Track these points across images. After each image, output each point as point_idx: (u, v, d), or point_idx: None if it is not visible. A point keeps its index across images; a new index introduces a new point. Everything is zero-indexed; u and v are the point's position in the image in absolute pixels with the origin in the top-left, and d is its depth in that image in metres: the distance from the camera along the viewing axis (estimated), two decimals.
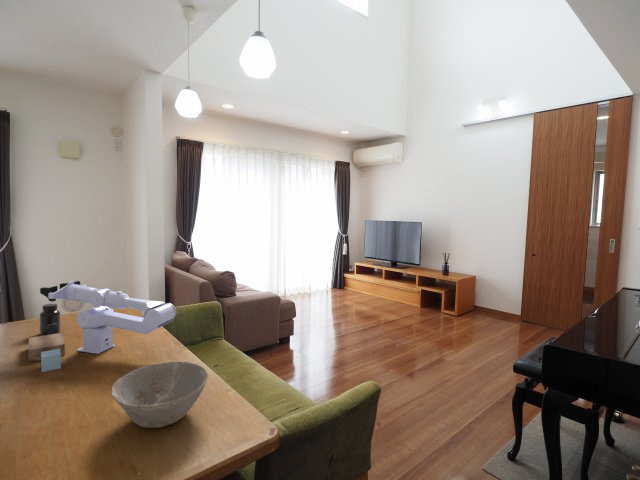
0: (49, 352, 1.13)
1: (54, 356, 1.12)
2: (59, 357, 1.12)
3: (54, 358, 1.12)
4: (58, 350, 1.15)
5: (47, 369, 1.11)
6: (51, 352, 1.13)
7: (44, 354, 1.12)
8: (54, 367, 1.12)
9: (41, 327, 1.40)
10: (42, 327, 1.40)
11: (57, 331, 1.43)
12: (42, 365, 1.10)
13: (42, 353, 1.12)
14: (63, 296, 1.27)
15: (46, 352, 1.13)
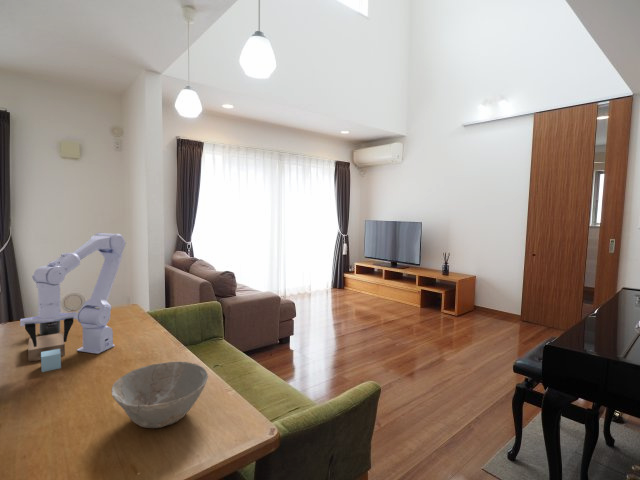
0: (49, 352, 1.13)
1: (54, 356, 1.12)
2: (59, 357, 1.12)
3: (54, 358, 1.12)
4: (58, 350, 1.15)
5: (47, 369, 1.11)
6: (51, 352, 1.13)
7: (44, 354, 1.12)
8: (54, 367, 1.12)
9: (41, 327, 1.40)
10: (42, 327, 1.40)
11: (57, 331, 1.43)
12: (42, 365, 1.10)
13: (42, 353, 1.12)
14: None
15: (46, 352, 1.13)
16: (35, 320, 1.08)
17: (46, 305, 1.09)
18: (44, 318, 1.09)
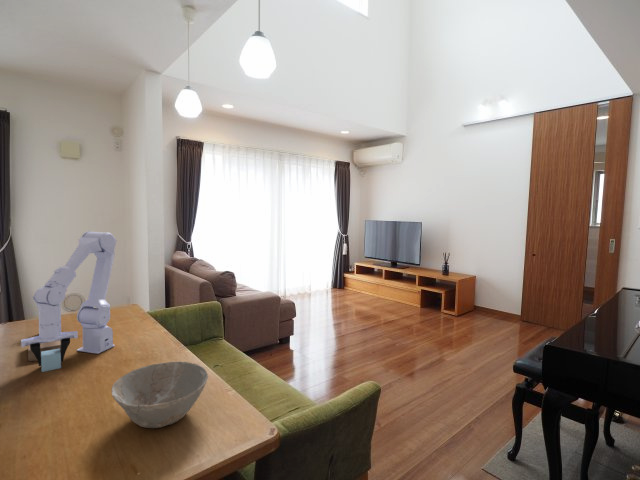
0: (49, 352, 1.13)
1: (54, 356, 1.12)
2: (59, 357, 1.12)
3: (54, 357, 1.12)
4: (58, 350, 1.15)
5: (47, 369, 1.11)
6: (51, 352, 1.13)
7: (44, 354, 1.12)
8: (54, 367, 1.12)
9: None
10: None
11: None
12: (42, 365, 1.10)
13: (42, 353, 1.12)
14: (61, 333, 1.15)
15: (46, 352, 1.13)
16: (36, 341, 1.09)
17: (47, 325, 1.10)
18: (45, 338, 1.10)
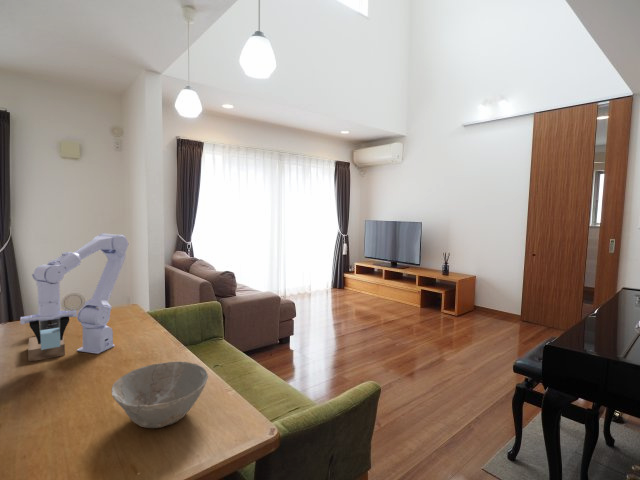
0: (48, 331, 1.13)
1: (53, 334, 1.12)
2: (58, 335, 1.13)
3: (53, 336, 1.12)
4: (57, 329, 1.15)
5: (46, 347, 1.11)
6: (50, 330, 1.14)
7: (43, 332, 1.12)
8: (53, 345, 1.12)
9: (41, 327, 1.40)
10: (42, 327, 1.40)
11: None
12: (41, 343, 1.10)
13: (41, 331, 1.13)
14: None
15: (45, 330, 1.14)
16: (35, 318, 1.09)
17: (46, 303, 1.10)
18: (44, 316, 1.10)
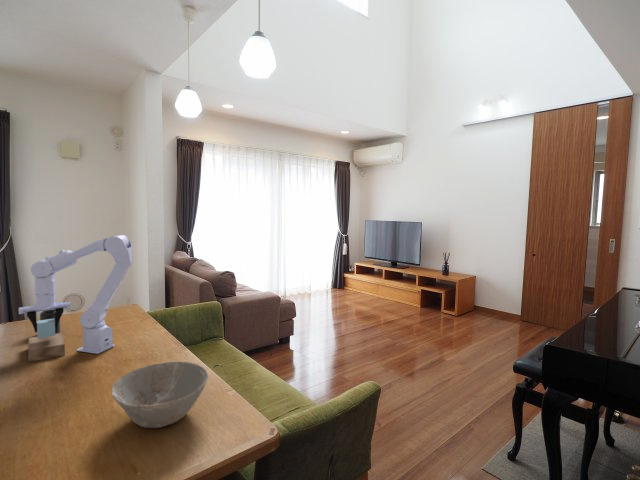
0: (44, 321, 1.24)
1: (49, 324, 1.22)
2: (53, 325, 1.23)
3: (49, 326, 1.22)
4: (53, 319, 1.26)
5: (42, 336, 1.22)
6: (46, 321, 1.24)
7: (39, 322, 1.22)
8: (49, 334, 1.23)
9: None
10: None
11: (57, 331, 1.43)
12: (38, 332, 1.21)
13: (38, 321, 1.23)
14: (55, 304, 1.26)
15: (41, 321, 1.24)
16: (32, 309, 1.20)
17: (42, 295, 1.21)
18: (40, 307, 1.21)
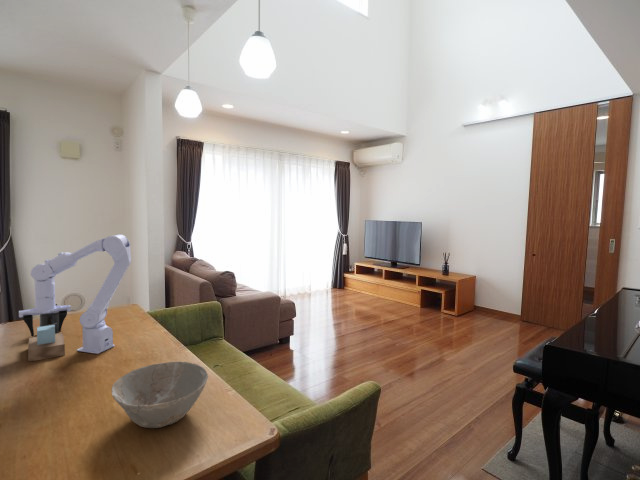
0: (44, 327, 1.24)
1: (49, 330, 1.23)
2: (53, 332, 1.23)
3: (49, 332, 1.23)
4: (53, 326, 1.26)
5: (42, 342, 1.22)
6: (46, 327, 1.24)
7: (39, 328, 1.23)
8: (49, 341, 1.23)
9: None
10: None
11: (57, 331, 1.43)
12: (38, 338, 1.21)
13: (38, 328, 1.23)
14: None
15: (42, 327, 1.24)
16: (32, 312, 1.20)
17: (42, 298, 1.21)
18: (40, 310, 1.21)
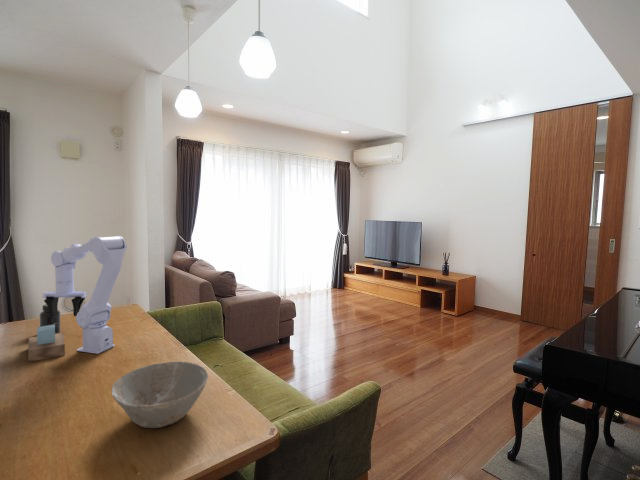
0: (44, 327, 1.24)
1: (49, 330, 1.23)
2: (53, 332, 1.23)
3: (49, 332, 1.23)
4: (53, 326, 1.26)
5: (42, 342, 1.22)
6: (46, 327, 1.24)
7: (39, 328, 1.23)
8: (49, 341, 1.23)
9: None
10: None
11: (57, 331, 1.43)
12: (38, 338, 1.21)
13: (38, 328, 1.23)
14: None
15: (42, 327, 1.24)
16: (51, 294, 1.31)
17: (58, 283, 1.30)
18: (57, 293, 1.31)
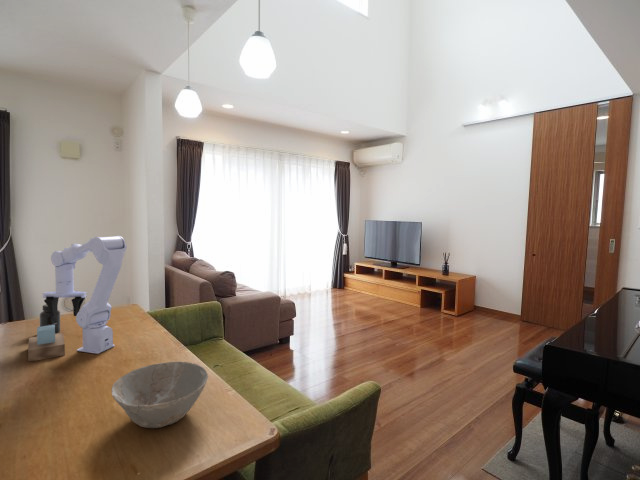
0: (44, 327, 1.24)
1: (49, 330, 1.23)
2: (53, 332, 1.23)
3: (49, 332, 1.23)
4: (53, 326, 1.26)
5: (42, 342, 1.22)
6: (46, 327, 1.24)
7: (39, 328, 1.23)
8: (49, 341, 1.23)
9: None
10: None
11: (57, 331, 1.43)
12: (38, 338, 1.21)
13: (38, 328, 1.23)
14: None
15: (42, 327, 1.24)
16: (51, 294, 1.31)
17: (58, 283, 1.30)
18: (57, 293, 1.31)
